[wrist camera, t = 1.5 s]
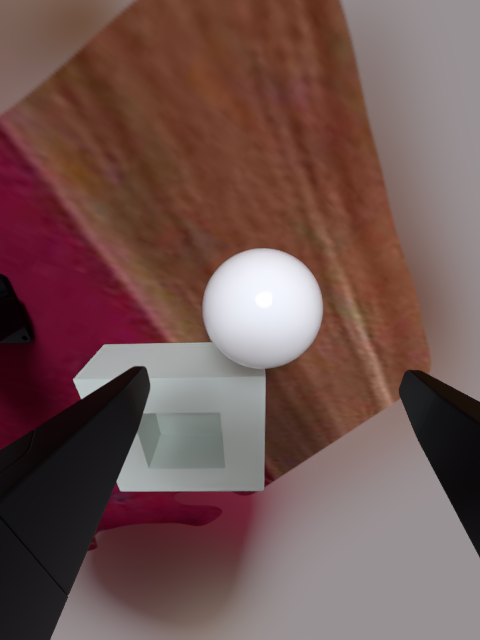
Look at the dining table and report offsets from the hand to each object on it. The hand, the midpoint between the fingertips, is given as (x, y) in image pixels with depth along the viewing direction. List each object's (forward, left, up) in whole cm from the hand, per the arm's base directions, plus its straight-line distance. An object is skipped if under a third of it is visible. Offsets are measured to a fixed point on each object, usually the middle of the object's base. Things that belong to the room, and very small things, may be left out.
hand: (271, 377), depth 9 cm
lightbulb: (0, 0, -14) cm, 14 cm away
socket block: (-7, -14, -13) cm, 21 cm away
